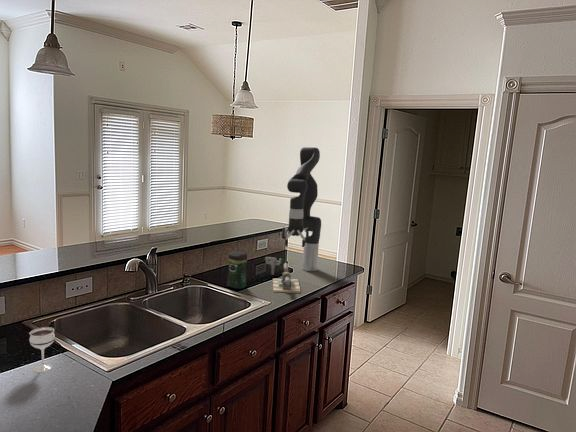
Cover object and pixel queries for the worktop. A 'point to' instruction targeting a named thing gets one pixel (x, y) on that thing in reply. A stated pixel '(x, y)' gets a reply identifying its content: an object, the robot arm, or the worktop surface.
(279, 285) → the shaft rig
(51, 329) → the wineglass
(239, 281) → the coffee jar
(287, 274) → the coupling block
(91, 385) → the worktop surface
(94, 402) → the worktop surface
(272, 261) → the mechanical component
